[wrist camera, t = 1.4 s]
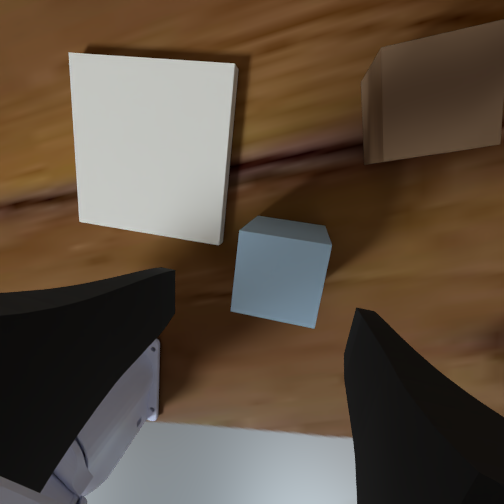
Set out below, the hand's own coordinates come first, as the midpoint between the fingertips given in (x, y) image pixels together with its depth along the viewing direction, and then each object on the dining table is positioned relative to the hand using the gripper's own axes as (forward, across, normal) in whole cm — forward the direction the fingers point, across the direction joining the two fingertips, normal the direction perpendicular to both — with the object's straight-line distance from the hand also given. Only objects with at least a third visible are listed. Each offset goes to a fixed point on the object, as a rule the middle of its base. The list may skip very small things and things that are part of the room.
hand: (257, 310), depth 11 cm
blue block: (+11, 0, +1) cm, 11 cm away
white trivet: (+10, +11, -5) cm, 16 cm away
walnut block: (+12, -6, -9) cm, 16 cm away
